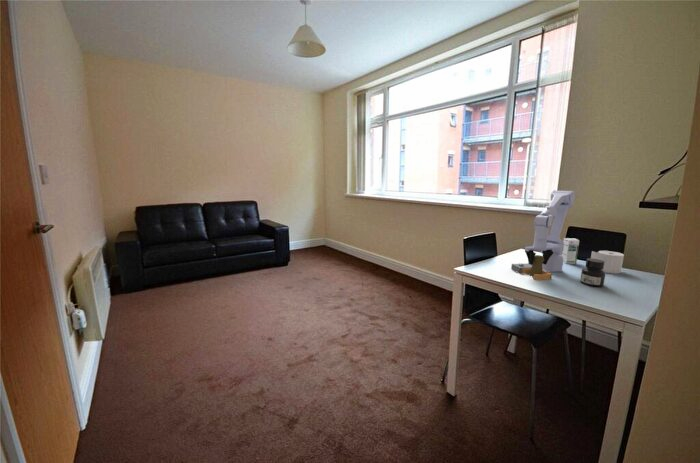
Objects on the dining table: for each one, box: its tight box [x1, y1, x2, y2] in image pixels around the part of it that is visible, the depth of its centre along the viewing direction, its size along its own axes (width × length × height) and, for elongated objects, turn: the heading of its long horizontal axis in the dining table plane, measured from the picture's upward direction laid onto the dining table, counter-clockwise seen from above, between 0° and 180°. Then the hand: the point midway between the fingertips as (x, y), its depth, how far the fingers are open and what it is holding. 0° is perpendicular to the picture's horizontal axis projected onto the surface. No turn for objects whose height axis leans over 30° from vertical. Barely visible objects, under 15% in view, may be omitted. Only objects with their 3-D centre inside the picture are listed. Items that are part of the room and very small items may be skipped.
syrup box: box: [561, 237, 580, 265], centre depth 177 cm, size 6×6×14 cm
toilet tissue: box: [590, 250, 625, 274], centre depth 163 cm, size 11×12×10 cm
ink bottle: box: [579, 257, 606, 288], centre depth 143 cm, size 10×9×12 cm
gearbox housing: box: [510, 262, 553, 280], centre depth 158 cm, size 12×17×4 cm
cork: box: [528, 254, 544, 278], centre depth 154 cm, size 6×6×11 cm
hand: (537, 264), depth 154 cm, fingers open, 7 cm apart
